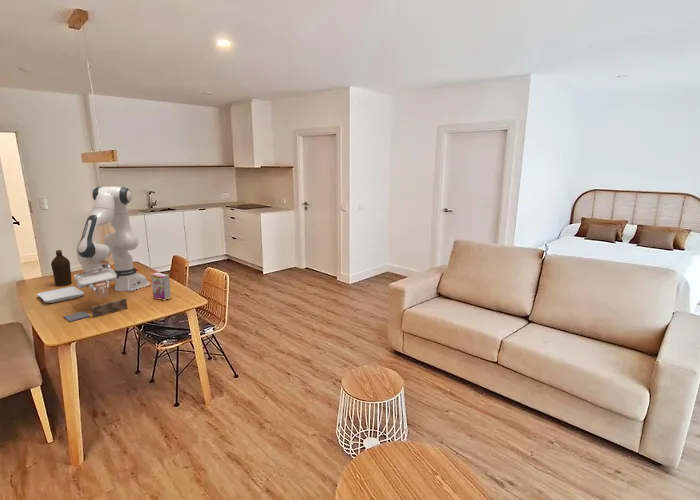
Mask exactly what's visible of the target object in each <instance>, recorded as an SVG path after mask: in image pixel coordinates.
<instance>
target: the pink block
mask: <svg viewBox="0 0 700 500" xmlns="http://www.w3.org/2000/svg"><path fill="white" fill-rule="evenodd" d="M93 287H94V288H97V291H96V292H95V298H98V299H104V298H109V296H110V295H109V288H108V287H107V284H106V283H104V282H102V283H97V284H94V286H93Z"/></svg>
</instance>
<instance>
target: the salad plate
mask: <svg viewBox="0 0 700 500" xmlns="http://www.w3.org/2000/svg"><path fill="white" fill-rule="evenodd" d="M84 295H85V292H84V291H83V290H81V289H80V288H79V287H77V286H74V285H73V286H67V287H62V288H57V289H53V290H46V291H43V292H38V293H36V296H37V297H38V298H41V300H43V302H44V303H47V304H54V303H58V302H63V301H64V302H65V301H68V300H73V299H77V298H80V297H82V296H84Z"/></svg>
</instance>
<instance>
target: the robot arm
mask: <svg viewBox="0 0 700 500" xmlns="http://www.w3.org/2000/svg"><path fill="white" fill-rule="evenodd" d="M91 195H92V199H93V200H94V203H93V209H92V213H91V215H88V217H87V219H86V221H85V224H84V229H83V230H82V234H81V237H80V240H79V243H78V245H77V248H76V256H77V259H78V262H79V264H80V265H81V267H82V268H81V269H82V270H83V272H81V273H76V274H75V275H74V276H73V278H74V280H75V281H76V284H77V288H78V289H84V288H89V289H91V290H92V291H93V293H96V291H97V288H95V286H94V284H97V283H102V282H104V283H106V284H107V287H108V289H110V282H115V286H114V290H115V291H116V292H133V290H134V291H137V290H140V289H139V288H141V289H143V288H142V287H144V288H146V287H145V286H147V285H150V284H151V285H152V282H150V281H148V279H147V278H146V276H145V275H143V274H141V273H139V271H140V268H138V267H134V261H133V256H132V255H131V254H130V252H129V251H133V250H136V249H137V248H138V246H139V239H138V238H137V237H136V236H135V234H134V232H133V230H132V227H131V224H130V223H131V221H130V214H129V213H130V212H129V205H128V204H129V203H130V202H131V200H132V191H131V190H130V189H129V188H127V187H125V186H122V187H121V186H114V185H113V186H96V187H95V188H94V189H93V190H92V194H91ZM107 224H108V225H109V224H110V226H111V227H112V229H113V230H114V232H110V233H107V234H106V235H105V236H104V238H103V242H104V244H103V243H98V242H94V241H95V240H94V238H95V235H96V230H97V228H98V227H99V226H102V225H107ZM110 254H111V256H112V258H113V259H112V260H113V264H114V269H113V268H111V265H110V264H109V265H107V264H99V262H101V261H103V260H106V259H107V258H109V256H110ZM149 283H150V284H149ZM147 287H148V286H147ZM136 289H137V290H136Z"/></svg>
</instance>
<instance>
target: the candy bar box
mask: <svg viewBox="0 0 700 500" xmlns="http://www.w3.org/2000/svg"><path fill="white" fill-rule="evenodd" d="M150 278H151V280H150V281H151V288H152V297H156V298H161V299H167V298H169V297H171V298H172V295H171V285H170V277H169V274H164V273H159V272H155V273H152V274H150ZM156 298H155V299H156Z"/></svg>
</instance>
